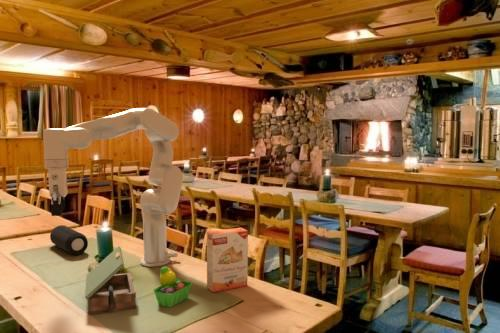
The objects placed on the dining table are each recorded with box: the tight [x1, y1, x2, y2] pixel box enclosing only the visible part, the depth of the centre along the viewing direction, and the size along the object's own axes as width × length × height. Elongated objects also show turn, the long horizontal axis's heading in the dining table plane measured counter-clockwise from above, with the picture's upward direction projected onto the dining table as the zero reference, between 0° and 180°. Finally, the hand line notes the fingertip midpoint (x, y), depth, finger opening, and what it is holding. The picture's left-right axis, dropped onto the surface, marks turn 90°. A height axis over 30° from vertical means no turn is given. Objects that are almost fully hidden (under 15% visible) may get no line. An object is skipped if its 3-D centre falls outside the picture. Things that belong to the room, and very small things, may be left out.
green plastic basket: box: [153, 266, 193, 308], centre depth 140 cm, size 11×9×11 cm
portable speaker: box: [49, 225, 89, 256], centre depth 198 cm, size 26×10×10 cm, turn 43°
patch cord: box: [108, 284, 115, 310], centre depth 140 cm, size 1×20×1 cm, turn 20°
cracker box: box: [206, 227, 249, 293], centre depth 151 cm, size 14×6×21 cm, turn 117°
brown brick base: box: [87, 272, 137, 316], centre depth 141 cm, size 14×20×5 cm
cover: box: [84, 245, 125, 300], centre depth 140 cm, size 15×21×2 cm
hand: (58, 212), depth 147 cm, fingers open, 9 cm apart
